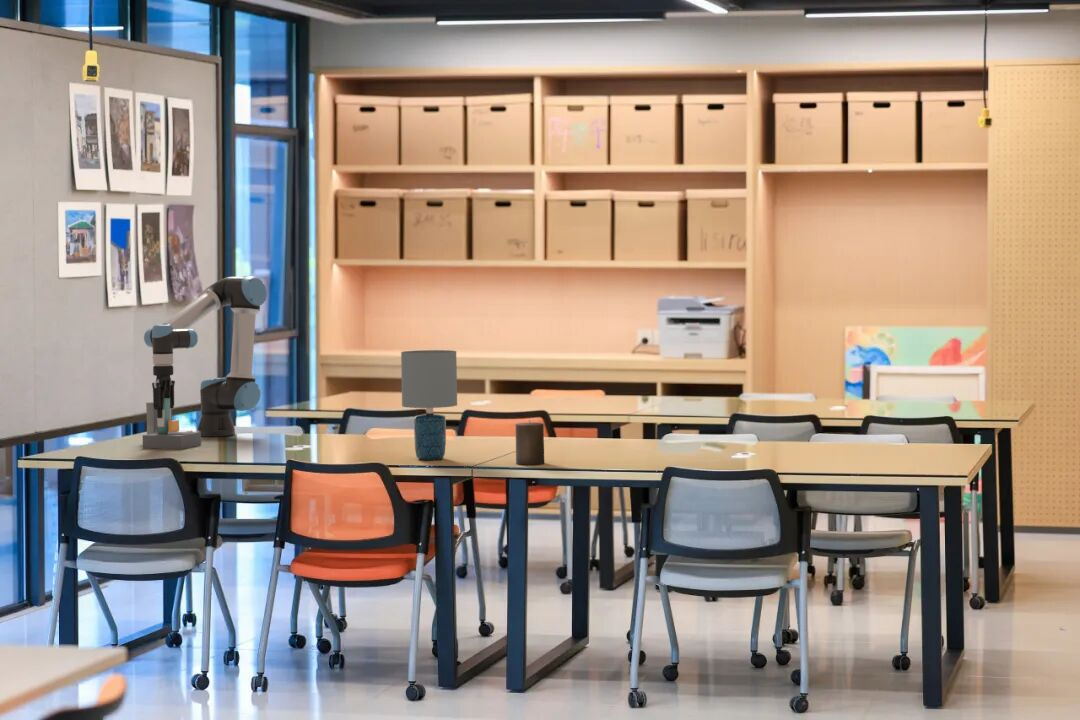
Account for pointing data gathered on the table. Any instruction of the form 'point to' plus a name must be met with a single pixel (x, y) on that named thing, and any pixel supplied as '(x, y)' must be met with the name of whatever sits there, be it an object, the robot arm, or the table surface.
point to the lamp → (429, 396)
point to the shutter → (176, 428)
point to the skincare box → (152, 418)
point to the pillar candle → (529, 443)
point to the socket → (171, 440)
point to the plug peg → (166, 416)
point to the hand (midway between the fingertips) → (164, 425)
